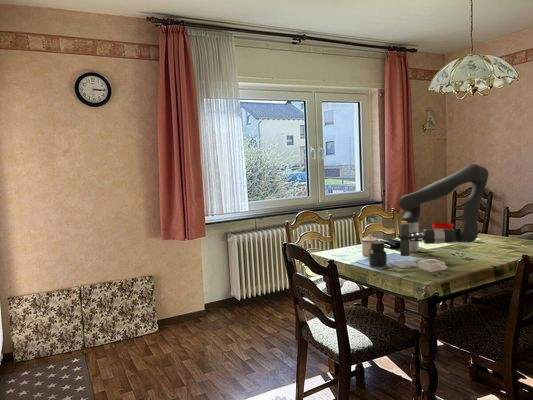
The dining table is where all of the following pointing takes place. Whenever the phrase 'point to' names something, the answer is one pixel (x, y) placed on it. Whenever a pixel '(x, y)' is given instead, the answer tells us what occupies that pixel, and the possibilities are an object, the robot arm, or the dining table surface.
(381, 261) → the ink bottle
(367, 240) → the teacup with lid
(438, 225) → the ceramic cup
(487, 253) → the dining table surface
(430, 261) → the square ring with handle
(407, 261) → the grey felt mat
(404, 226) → the black cable stub
